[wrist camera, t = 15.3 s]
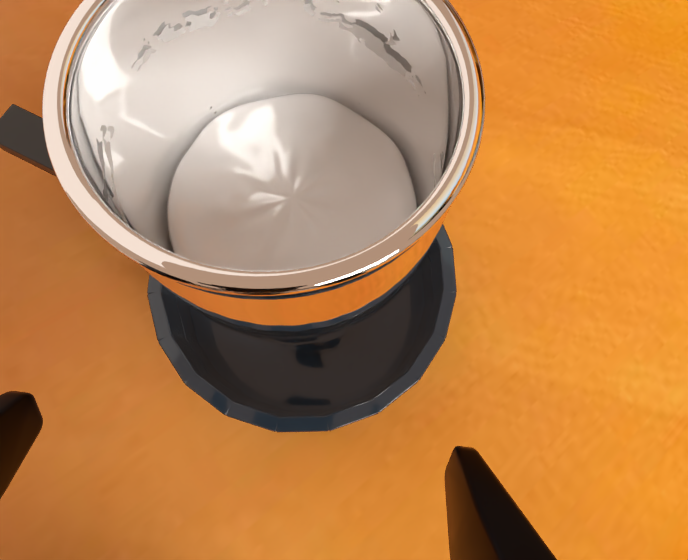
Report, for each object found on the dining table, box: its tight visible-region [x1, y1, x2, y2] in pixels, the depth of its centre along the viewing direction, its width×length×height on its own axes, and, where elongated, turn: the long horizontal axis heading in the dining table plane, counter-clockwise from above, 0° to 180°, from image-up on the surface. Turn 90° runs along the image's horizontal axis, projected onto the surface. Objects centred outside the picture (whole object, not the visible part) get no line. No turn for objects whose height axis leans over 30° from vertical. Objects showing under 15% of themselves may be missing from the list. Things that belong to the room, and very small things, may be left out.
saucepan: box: [147, 224, 457, 432], centre depth 19 cm, size 13×13×4 cm
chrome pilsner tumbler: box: [42, 0, 485, 354], centre depth 13 cm, size 7×7×15 cm
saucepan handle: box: [0, 104, 57, 177], centre depth 19 cm, size 10×2×1 cm, turn 64°
